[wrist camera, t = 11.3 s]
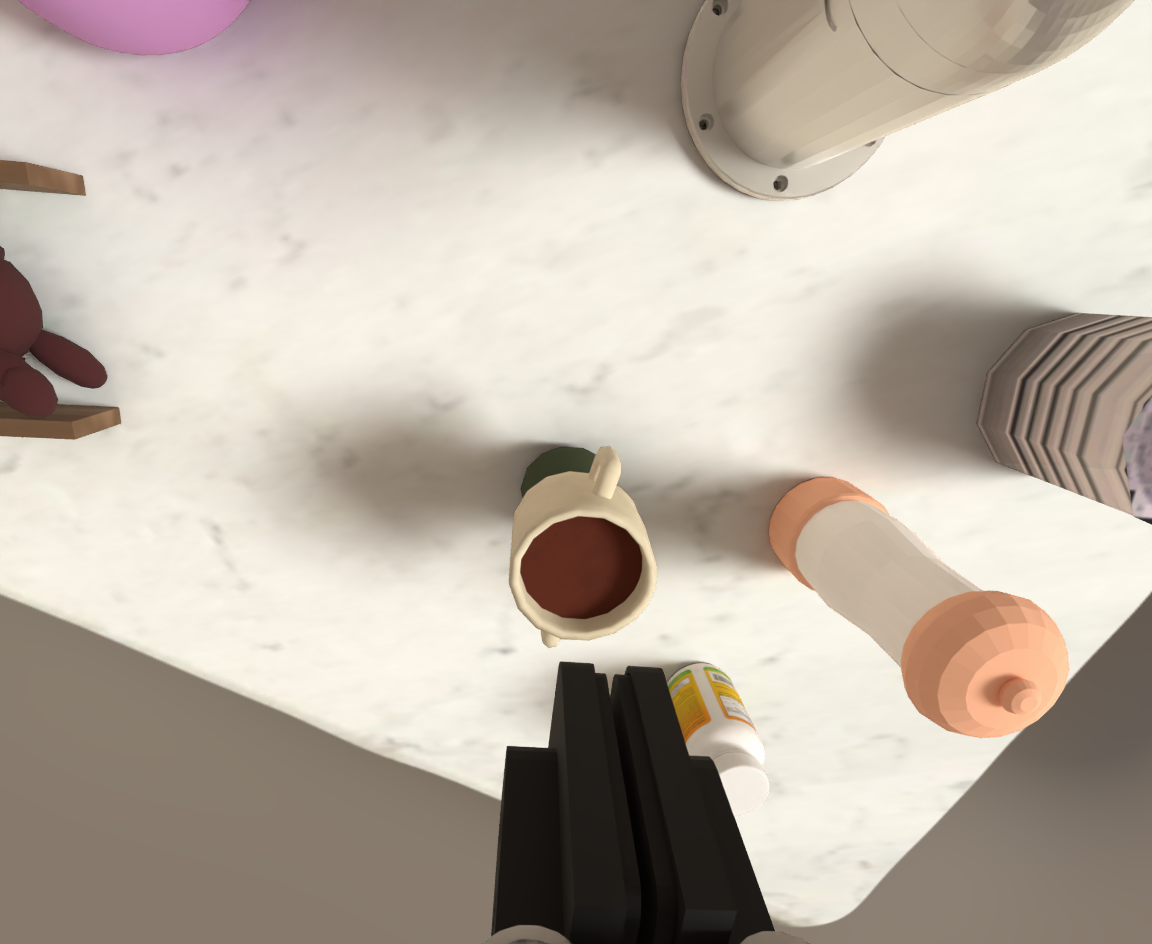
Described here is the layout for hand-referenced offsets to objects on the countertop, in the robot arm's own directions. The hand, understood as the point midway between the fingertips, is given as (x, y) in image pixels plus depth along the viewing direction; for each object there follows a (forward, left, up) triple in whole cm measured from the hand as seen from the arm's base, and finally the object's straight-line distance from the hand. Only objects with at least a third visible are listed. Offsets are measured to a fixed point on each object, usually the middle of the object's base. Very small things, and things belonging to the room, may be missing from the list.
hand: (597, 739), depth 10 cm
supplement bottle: (+22, +13, -31) cm, 40 cm away
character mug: (+6, +2, -31) cm, 31 cm away
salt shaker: (+8, +20, -31) cm, 37 cm away
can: (-2, +35, -31) cm, 46 cm away
